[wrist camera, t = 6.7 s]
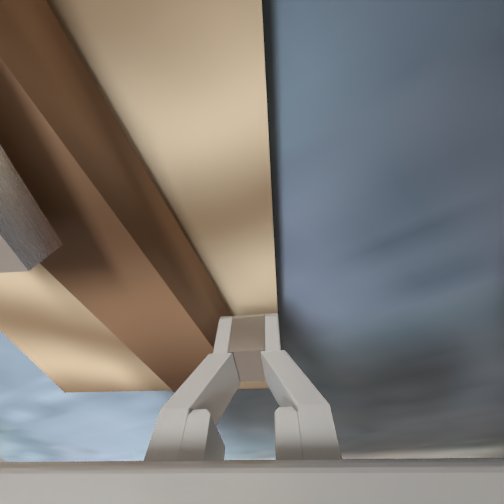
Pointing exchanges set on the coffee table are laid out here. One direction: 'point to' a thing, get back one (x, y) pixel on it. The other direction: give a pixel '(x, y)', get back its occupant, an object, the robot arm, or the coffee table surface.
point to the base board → (166, 170)
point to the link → (100, 201)
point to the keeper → (21, 224)
